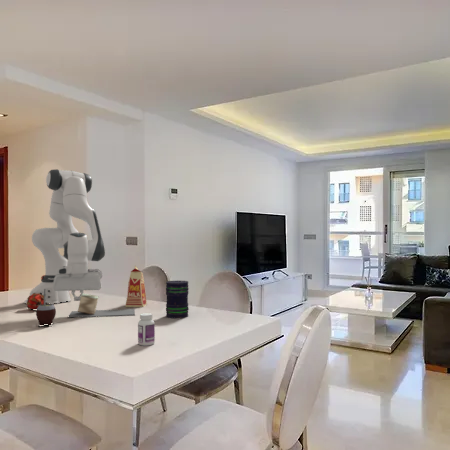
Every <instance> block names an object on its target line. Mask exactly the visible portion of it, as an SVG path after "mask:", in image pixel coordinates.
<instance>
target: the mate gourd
mask: <svg viewBox="0 0 450 450" xmlns="http://www.w3.org/2000/svg"><path fill="white" fill-rule="evenodd" d="M45 297H46V289H44V304H43V305H39V306H38V308H37V311H35V315H36V318H37V321H38V322H37V323H38V326H39V325H44V324H48V325H51V323H53V324H54V319H55V317H56V315H57V311H56V307H55V304H45Z"/></svg>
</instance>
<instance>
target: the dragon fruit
mask: <svg viewBox="0 0 450 450" xmlns="http://www.w3.org/2000/svg"><path fill="white" fill-rule="evenodd" d="M27 299H28V301H27V304H26V306H27V309H28V310H31V309H37V308H38V306H39V305H43V304H44V295H41V294H39V293H37V294H36V293H33V294H32V295H31V296H28V297H27V298H26V300H27ZM45 301H46V299H45ZM45 304H48V303H47V302H45Z"/></svg>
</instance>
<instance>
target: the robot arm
mask: <svg viewBox="0 0 450 450" xmlns="http://www.w3.org/2000/svg"><path fill="white" fill-rule="evenodd" d="M45 183H46V186H47V188H48V189H49V190H51V191H52V194H51V198H50V204H49V205H50V206H49V212H48V215H49V217H50V219H52V220H53V221H54V222H56V224H57V225H56V227H42V228H38V229H35V230H34V231H33V233H32V234H31V235H32V236H31V242H32V244H33V246H34V247H35V248H36V249H38V250H39V251H40V253H41V254H42V256H43V259H44V266H45V274H43V275H41V277H40V280H41V282H40V283H39V284H37V285H36V286H35V287H33V288H32V289H31V290H30V293H29V296H31V295H32V294H33V293H36V294H37V293H39V294H41V295H44V289H46V297H45V299H46V301H45V302H47V303H50V304H53V305H55V304H54V303H57V304H60V302H62V303H67V302H66V301H68V302H71V301H72V299H71V295H72V297H73V301H74V302H77V301H78V302H80V299H81V295H82V294H83V293H84V292H85V291H99V290H101V288H102V278H103V272H102V270H101V269H98V268H95V269H94V268H93V269H92V268H89V262H90V261H92V262H99V261H101V260H102V259H103V258H105V257H106V256H105V255H106V247H105V244H104V241H103V238H102V234H101V233H102V232H101V229H100V225H99V220H98V216H97V213H96V210H95V209H94V208H93V207H91V206H90V204H89V202H88V193H90V192H91V190H92V186H93V178H92V177H91V175H90V174H88V173H85V172H79V171H77V170H76V171H74V170H66V169H64V170H62V169H56V168H55V169H51V170H49V171H48V172H47V175H46V178H45ZM73 218H76V219H77V220H78V219H79V220H81V221H83V222H85V223H87V225H88V226H89V228H90V234H91V238H92V239H88V235H87V234H86V233H83V232H79V230H78V229H77V228H76V227H75V225H74V223H73ZM60 249H63V255H62V254H61V253H60V251H59V250H60ZM76 291H79V293H80V295H76V294H75V293H76ZM70 292H71V295H70ZM29 296H28V297H29ZM70 300H71V301H70ZM27 301H28V299H27V298H26V300H24V302H23V304H24V303H27Z"/></svg>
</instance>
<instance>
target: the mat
mask: <svg viewBox="0 0 450 450" xmlns="http://www.w3.org/2000/svg"><path fill="white" fill-rule="evenodd" d="M135 310H136V309H135V308H125V309H124V308H123V309H121V308H120V309H96V311H95V313H94V314H87V313H81V312H78V310H72V311H71V312H70V313H69V314H68V316H69V317H82V318H99V317H98V316H106V317H124V316H125V317H127V316H135V315H136V314H135V313H136V312H135ZM96 316H97V317H96Z"/></svg>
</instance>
